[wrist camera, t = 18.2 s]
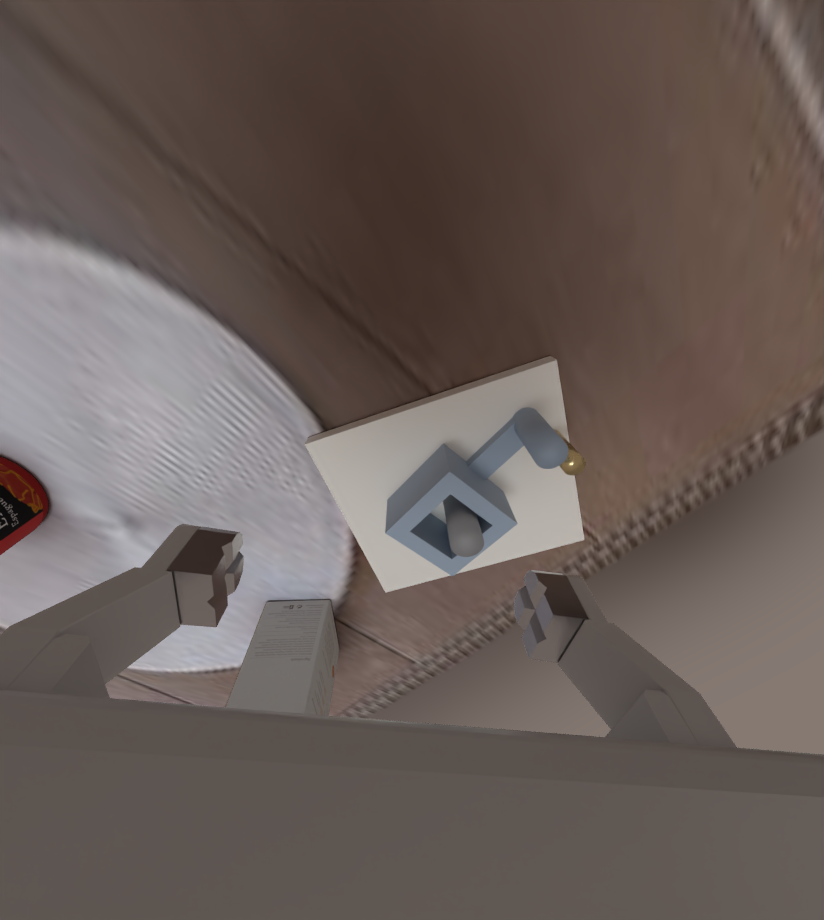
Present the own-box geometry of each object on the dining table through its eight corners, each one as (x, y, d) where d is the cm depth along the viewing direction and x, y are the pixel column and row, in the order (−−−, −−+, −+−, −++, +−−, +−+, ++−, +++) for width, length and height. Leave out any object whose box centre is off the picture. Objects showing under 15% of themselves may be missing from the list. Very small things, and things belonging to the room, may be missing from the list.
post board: (308, 437, 27) (282, 486, 21) (550, 355, 25) (596, 385, 19) (386, 582, 35) (382, 648, 29) (578, 530, 32) (617, 591, 26)
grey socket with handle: (505, 381, 24) (528, 407, 20) (565, 437, 26) (597, 473, 22) (387, 499, 29) (384, 543, 24) (446, 540, 31) (454, 586, 26)
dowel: (540, 432, 26) (561, 459, 23) (559, 426, 26) (584, 452, 22) (543, 449, 27) (564, 477, 23) (562, 443, 27) (586, 471, 23)
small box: (265, 599, 35) (200, 762, 24) (331, 598, 35) (297, 759, 24) (281, 652, 39) (231, 813, 28) (340, 650, 39) (315, 810, 28)
